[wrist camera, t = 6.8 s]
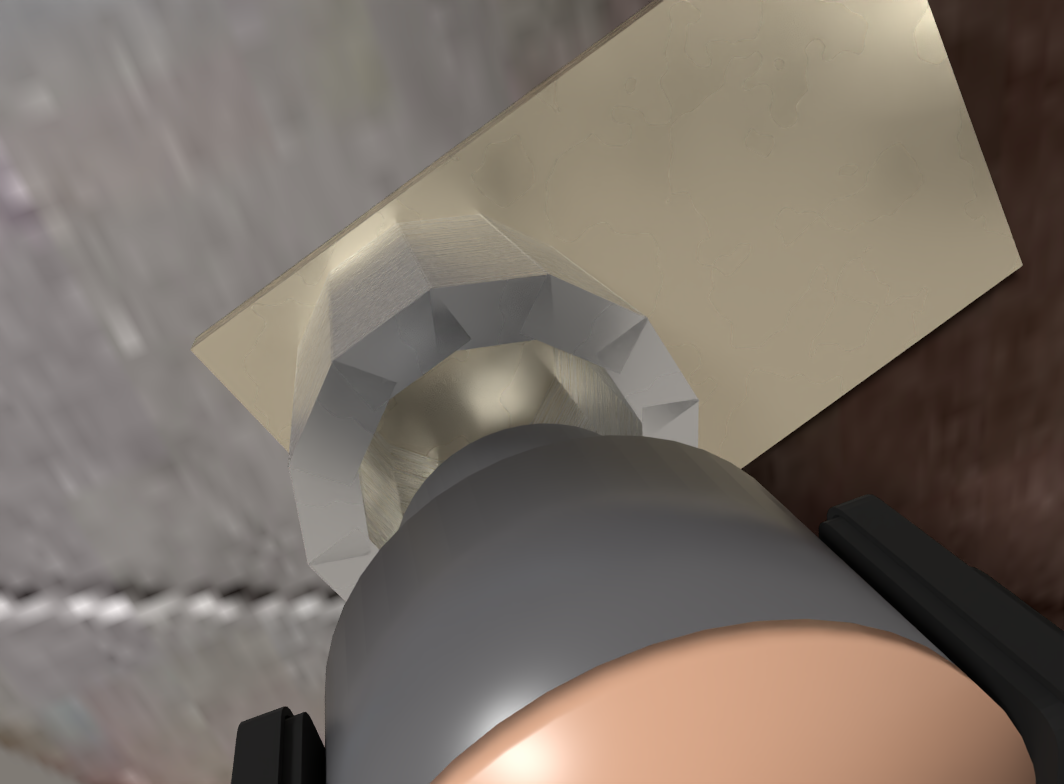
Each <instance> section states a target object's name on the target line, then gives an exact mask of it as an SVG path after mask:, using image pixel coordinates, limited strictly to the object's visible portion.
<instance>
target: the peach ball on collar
mask: <svg viewBox="0 0 1064 784" xmlns="http://www.w3.org/2000/svg"><path fill="white" fill-rule="evenodd" d="M325 783H326V784H1036V777H1035V772H1034V766H1033V763H1032V761H1031V758H1030V756H1029V753H1028V751H1027V748H1026V746H1025V743H1024V741H1023V739H1022V736H1021V735H1020V733H1019V732H1018V731H1017V729H1016V728H1015V726H1014V725H1013V723H1012V722H1011V720H1010V719H1009V717H1008V716H1007V714H1006V713H1005V711H1004V710H1003V709H1002V708H1001V707H1000V706H999V705H998V704H996V703H995V702H994V701H993V700H992V699H991V698H990V697H989V696H988V695H987V694H986V693H985V692H984V691H983V690H982V689H981V688H980V687H979V686H978V685H977V684H976V683H974V682H973V681H972V680H971V679H970V678H969V677H968V676H967V675H966V674H965V673H964V672H963V671H961V670H960V669H959V668H958V667H957V666H956V665H955V664H954V663H953V662H952V661H951V660H950V659H949V658H947V657H946V656H945V655H944V654H943V653H942V652H941V651H940V650H939V649H938V648H937V647H936V646H935V645H933V644H932V643H931V642H930V641H929V640H928V639H927V638H926V637H925V636H924V635H923V634H922V633H920V632H919V631H918V630H917V629H916V628H915V627H914V626H913V625H912V624H911V623H910V622H909V621H908V620H906V619H905V618H904V617H903V616H902V615H901V614H900V613H899V612H898V611H897V610H896V609H895V608H893V607H892V606H891V605H890V604H889V603H888V602H887V601H886V600H885V599H884V598H883V597H882V596H881V595H879V594H878V593H877V592H876V591H875V590H874V589H873V588H872V587H871V586H870V585H869V584H868V583H867V582H865V581H864V580H863V579H862V578H861V577H860V576H859V575H858V574H857V573H856V572H855V571H854V570H852V569H851V568H850V567H849V566H848V565H847V564H846V563H845V562H844V561H843V560H842V559H841V558H840V557H838V556H837V555H836V554H835V553H834V552H833V551H832V550H831V549H830V548H829V547H828V546H827V545H826V544H824V543H823V542H822V541H821V540H820V539H819V538H818V537H817V536H816V535H815V534H814V533H813V532H811V531H810V530H809V529H808V528H807V527H806V526H805V525H804V524H803V523H802V522H801V521H800V520H799V519H797V518H796V517H795V516H794V515H793V514H792V513H791V512H790V511H789V510H788V509H787V508H786V507H784V506H783V505H782V504H781V503H780V502H779V501H778V500H777V499H776V498H775V497H774V496H773V495H772V494H770V493H769V492H768V491H767V490H766V489H765V488H764V487H763V486H762V485H761V484H760V483H759V482H758V481H756V480H755V479H754V478H753V477H751V476H750V475H748V474H747V473H746V472H744V471H743V470H741V469H740V468H738V467H737V466H735V465H734V464H732V463H731V462H729V461H727V460H725V459H722V458H720V457H718V456H716V455H714V454H712V453H710V452H708V451H706V450H703V449H700V448H696V447H693V446H690V445H686V444H683V443H680V442H677V441H672V440H666V439H659V438H653V437H646V436H624V435H605V436H602V435H600V434H598V433H595V432H593V431H590V430H587V429H583V428H580V427H577V426H570V425H564V424H547V423H539V424H529V425H521V426H517V427H512V428H508V429H504V430H501V431H498V432H495V433H492V434H489V435H487V436H484V437H482V438H480V439H478V440H476V441H474V442H472V443H470V444H468V445H467V446H465V447H463V448H462V449H460V450H459V451H457V452H456V453H454V454H453V455H451V456H450V457H449V458H448V459H447V460H445V461H444V462H443V463H442V464H441V465H439V466H438V467H437V468H436V469H435V470H434V471H433V472H432V473H431V475H430V476H429V477H428V478H427V479H426V480H425V481H424V482H423V484H422V485H421V486H420V488H419V489H418V491H417V492H416V493H415V495H414V496H413V498H412V500H411V502H410V503H409V505H408V507H407V509H406V511H405V513H404V516H403V518H402V521H401V524H400V526H399V529H398V530H397V532H396V533H395V534H394V535H393V536H392V537H391V538H390V539H389V540H388V541H387V542H386V543H385V544H384V545H383V546H382V547H381V549H380V550H379V551H378V553H377V554H376V555H375V557H374V558H373V560H372V561H371V562H370V564H369V565H368V566H367V568H366V569H365V570H364V572H363V573H362V575H361V576H360V578H359V579H358V581H357V583H356V585H355V587H354V589H353V590H352V592H351V594H350V596H349V598H348V600H347V601H346V603H345V605H344V607H343V610H342V613H341V615H340V618H339V621H338V623H337V626H336V629H335V631H334V634H333V637H332V642H331V646H330V651H329V656H328V661H327V665H326V682H325Z"/></svg>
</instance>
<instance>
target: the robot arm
mask: <svg viewBox="0 0 1064 784" xmlns="http://www.w3.org/2000/svg"><path fill="white" fill-rule="evenodd" d="M819 539H820V540H821V541H822V542H823V543H824V544H826V545H827V546H828V547H829V548H830V549H831V550H832V551H833V552H834V553H835V554H836V555H837V556H838V557H840V558H841V559H842V560H843V561H844V562H845V563H846V564H847V565H848V566H849V567H850V568H851V569H852V570H854V571H855V572H856V573H857V574H858V575H859V576H860V577H861V578H862V579H863V580H864V581H865V582H867V583H868V584H869V585H870V586H871V587H872V588H873V589H874V590H875V591H876V592H877V593H878V594H879V595H881V596H882V597H883V598H884V599H885V600H886V601H887V602H888V603H889V604H890V605H891V606H892V607H893V608H895V609H896V610H897V611H898V612H899V613H900V614H901V615H902V616H903V617H904V618H905V619H906V620H908V621H909V622H910V623H911V624H912V625H913V626H914V627H915V628H916V629H917V630H918V631H919V632H920V633H922V634H923V635H924V636H925V637H926V638H927V639H928V640H929V641H930V642H931V643H932V644H933V645H935V646H936V647H937V648H938V649H939V650H940V651H941V652H942V653H943V654H944V655H945V656H946V657H947V658H949V659H950V660H951V661H952V662H953V663H954V664H955V665H956V666H957V667H958V668H959V669H960V670H961V671H963V672H964V673H965V674H966V675H967V676H968V677H969V678H970V679H971V680H972V681H973V682H974V683H976V684H977V685H978V686H979V687H980V688H981V689H982V690H983V691H984V692H985V693H986V694H987V695H988V696H989V697H990V698H991V699H992V700H993V701H994V702H995V703H996V704H998V705H999V706H1000V707H1001V708H1002V709H1003V710H1004V711H1005V713H1006V714H1007V716H1008V717H1009V719H1010V720H1011V722H1012V723H1013V725H1014V726H1015V728H1016V729H1017V731H1018V732H1019V733H1020V735H1021V736H1022V739H1023V741H1024V743H1025V746H1026V748H1027V751H1028V753H1029V756H1030V758H1031V761H1032V763H1033V766H1034V772H1035V777H1036V784H1064V631H1063V630H1061V629H1060V628H1059V627H1057V626H1056V625H1055V624H1053V623H1052V622H1050V621H1049V620H1048V619H1046V618H1045V617H1044V616H1042V615H1041V614H1040V613H1038V612H1037V611H1036V610H1034V609H1033V608H1032V607H1030V606H1029V605H1028V604H1026V603H1025V602H1024V601H1022V600H1021V599H1020V598H1018V597H1017V596H1015V595H1014V594H1013V593H1011V592H1010V591H1009V590H1007V589H1006V588H1005V587H1003V586H1002V585H1001V584H999V583H998V582H997V581H995V580H994V579H993V578H991V577H990V576H989V575H987V574H985V573H984V572H982V571H980V570H979V569H977V568H974V567H970V566H968V565H967V564H966V563H964V562H963V561H962V560H960V559H959V558H958V557H956V556H955V555H954V554H952V553H951V552H950V551H948V550H947V549H946V548H944V547H943V546H942V545H940V544H939V543H938V542H936V541H935V540H934V539H932V538H931V537H930V536H928V535H927V534H926V533H924V532H923V531H922V530H920V529H919V528H918V527H916V526H915V525H914V524H912V523H911V522H910V521H908V520H907V519H906V518H904V517H903V516H902V515H900V514H899V513H898V512H896V511H895V510H894V509H892V508H891V507H890V506H888V505H887V504H886V503H884V502H883V501H882V500H880V499H879V498H877V497H875V496H874V495H869V494H867V495H864V496H861V497H859V498H856V499H853V500H850V501H848V502H845V503H842V504H839V505H837V506H834V507H832V508H830V509H829V510H828V513H827V521H825V522H822V523H821V524H820V526H819ZM231 784H326V783H325V747H324V745H323V743H322V741H321V739H320V737H319V735H318V732H317V730H316V728H315V726H314V724H313V722H312V720H311V718H310V716H309V715H308V713H307V712H303V713H300V714H298V715H295V716H294V715H293V713H292V712H291V710H290V709H289V708H288V707H282V708H279V709H276V710H273V711H271V712H268V713H265V714H262V715H260V716H257V717H254V718H251V719H249V720H246V721H243V722H241V723H240V725H239V727H238V731H237V738H236V746H235V755H234V763H233V772H232V780H231Z"/></svg>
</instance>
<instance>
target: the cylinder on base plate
mask: <svg viewBox="0 0 1064 784" xmlns="http://www.w3.org/2000/svg"><path fill="white" fill-rule="evenodd" d="M1021 266H1023V265H1022V262H1021V259H1020V257H1019V254H1018V251H1017V248H1016V246H1015V243H1014V240H1013V237H1012V234H1011V232H1010V229H1009V226H1008V223H1007V221H1006V218H1005V215H1004V212H1003V209H1002V207H1001V204H1000V201H999V198H998V196H997V193H996V190H995V187H994V184H993V182H992V179H991V176H990V173H989V171H988V168H987V165H986V162H985V160H984V157H983V154H982V151H981V148H980V146H979V143H978V140H977V137H976V135H975V132H974V129H973V126H972V123H971V121H970V118H969V115H968V112H967V110H966V107H965V104H964V101H963V98H962V96H961V93H960V90H959V87H958V85H957V82H956V79H955V76H954V73H953V71H952V68H951V65H950V62H949V60H948V57H947V54H946V51H945V48H944V46H943V43H942V40H941V37H940V35H939V32H938V29H937V26H936V24H935V21H934V18H933V15H932V12H931V10H930V7H929V4H928V1H927V0H654V1H652V2H651V3H650V4H648V5H647V6H645V7H644V8H643V9H641V10H640V11H639V12H637V13H636V14H635V15H633V16H632V17H631V18H629V19H628V20H627V21H625V22H624V23H622V24H621V25H620V26H618V27H617V28H616V29H614V30H613V31H612V32H610V33H609V34H608V35H606V36H605V37H603V38H602V39H601V40H599V41H598V42H597V43H595V44H594V45H593V46H591V47H590V48H589V49H587V50H586V51H584V52H583V53H582V54H580V55H579V56H578V57H576V58H575V59H574V60H572V61H571V62H570V63H568V64H567V65H566V66H564V67H563V68H561V69H560V70H559V71H557V72H556V73H555V74H553V75H552V76H551V77H549V78H548V79H547V80H545V81H544V82H542V83H541V84H540V85H538V86H537V87H536V88H534V89H533V90H532V91H530V92H529V93H528V94H526V95H525V96H523V97H522V98H521V99H519V100H518V101H517V102H515V103H514V104H513V105H511V106H510V107H509V108H507V109H506V110H505V111H503V112H502V113H500V114H499V115H498V116H496V117H495V118H494V119H492V120H491V121H490V122H488V123H487V124H486V125H484V126H483V127H481V128H480V129H479V130H477V131H476V132H475V133H473V134H472V135H471V136H469V137H468V138H467V139H465V140H464V141H462V142H461V143H460V144H458V145H457V146H456V147H454V148H453V149H452V150H450V151H449V152H448V153H446V154H445V155H443V156H442V157H441V158H439V159H438V160H437V161H435V162H434V163H433V164H431V165H430V166H429V167H427V168H426V169H425V170H423V171H422V172H420V173H419V174H418V175H416V176H415V177H414V178H412V179H411V180H410V181H408V182H407V183H406V184H404V185H403V186H401V187H400V188H399V189H397V190H396V191H395V192H393V193H392V194H391V195H389V196H388V197H387V198H385V199H384V200H382V201H381V202H380V203H378V204H377V205H376V206H374V207H373V208H372V209H370V210H369V211H368V212H366V213H365V214H364V215H362V216H361V217H359V218H358V219H357V220H355V221H354V222H353V223H351V224H350V225H349V226H347V227H346V228H345V229H343V230H342V231H340V232H339V233H338V234H336V235H335V236H334V237H332V238H331V239H330V240H328V241H327V242H326V243H324V244H323V245H321V246H320V247H319V248H317V249H316V250H315V251H313V252H312V253H311V254H309V255H308V256H307V257H305V258H304V259H303V260H301V261H300V262H298V263H297V264H296V265H294V266H293V267H292V268H290V269H289V270H288V271H286V272H285V273H284V274H282V275H281V276H279V277H278V278H277V279H275V280H274V281H273V282H271V283H270V284H269V285H267V286H266V287H265V288H263V289H262V290H260V291H259V292H258V293H256V294H255V295H254V296H252V297H251V298H250V299H248V300H247V301H246V302H244V303H243V304H242V305H240V306H239V307H237V308H236V309H235V310H233V311H232V312H231V313H229V314H228V315H227V316H225V317H224V318H223V319H221V320H220V321H218V322H217V323H216V324H214V325H213V326H212V327H210V328H209V329H208V330H206V331H205V332H204V333H202V334H201V335H199V336H198V337H197V338H196V339H195V341H194V343H193V345H192V347H191V351H192V352H193V353H194V354H195V355H196V356H197V357H198V358H199V359H200V360H201V361H202V362H203V363H204V365H205V366H206V367H207V368H208V369H209V370H210V371H211V372H212V373H213V374H214V375H215V376H216V377H217V378H218V379H219V380H220V381H221V382H222V383H223V384H224V385H225V386H226V387H227V389H228V390H229V391H230V392H231V393H232V394H233V395H234V396H235V397H236V398H237V399H238V400H239V401H240V402H241V403H242V404H243V405H244V406H245V407H246V408H247V409H248V410H249V412H250V413H251V414H252V415H253V416H254V417H255V418H256V419H257V420H258V421H259V422H260V423H261V424H262V425H263V426H264V427H265V428H266V429H267V430H268V431H269V432H270V433H271V434H272V436H273V437H274V438H275V439H276V440H277V441H278V442H279V443H280V444H281V445H282V446H283V447H284V448H285V449H286V450H287V451H288V452H289V459H288V467H289V471H290V476H291V481H292V486H293V491H294V496H295V501H296V506H297V511H298V516H299V521H300V526H301V531H302V536H303V541H304V546H305V551H306V557H307V564H308V566H310V567H311V568H312V569H313V570H314V571H315V572H316V573H317V574H318V575H319V576H320V577H321V578H322V579H323V580H324V581H325V582H326V583H327V584H328V585H329V586H330V587H331V588H332V589H333V590H334V591H335V592H336V593H337V594H338V595H339V596H341V597H342V598H343V599H344V600H345V601H347V600H348V598H349V596H350V594H351V592H352V590H353V589H354V587H355V585H356V583H357V581H358V579H359V578H360V576H361V575H362V573H363V572H364V570H365V569H366V568H367V566H368V565H369V564H370V562H371V561H372V560H373V558H374V557H375V555H376V554H377V553H378V551H379V550H380V549H381V547H382V546H383V545H384V544H385V543H386V542H387V541H388V540H389V539H390V538H391V537H392V536H393V535H394V534H395V533H396V532H397V530H398V529H399V526H400V524H401V521H402V518H403V516H404V513H405V511H406V509H407V507H408V505H409V503H410V502H411V500H412V498H413V496H414V495H415V493H416V492H417V491H418V489H419V488H420V486H421V485H422V484H423V482H424V481H425V480H426V479H427V478H428V477H429V476H430V475H431V473H432V472H433V471H434V470H435V469H436V468H437V467H438V466H439V465H441V464H442V463H443V462H444V461H445V460H447V459H448V458H449V457H450V456H451V455H453V454H454V453H456V452H457V451H459V450H460V449H462V448H463V447H465V446H467V445H468V444H470V443H472V442H474V441H476V440H478V439H480V438H482V437H484V436H487V435H489V434H492V433H495V432H498V431H501V430H504V429H508V428H512V427H517V426H521V425H529V424H539V423H547V424H564V425H570V426H577V427H580V428H583V429H587V430H590V431H593V432H595V433H598V434H600V435H602V436H605V435H624V436H646V437H653V438H659V439H666V440H672V441H677V442H680V443H683V444H686V445H690V446H693V447H696V448H700V449H703V450H706V451H708V452H710V453H712V454H714V455H716V456H718V457H720V458H722V459H725V460H727V461H729V462H731V463H732V464H734V465H735V466H737V467H738V468H740V469H742V468H743V467H744V466H746V465H747V464H748V463H750V462H751V461H753V460H754V459H755V458H757V457H758V456H760V455H761V454H762V453H764V452H765V451H766V450H768V449H769V448H771V447H772V446H773V445H775V444H776V443H778V442H779V441H780V440H782V439H783V438H784V437H786V436H787V435H789V434H790V433H791V432H793V431H794V430H796V429H797V428H798V427H800V426H801V425H802V424H804V423H805V422H807V421H808V420H809V419H811V418H812V417H814V416H815V415H816V414H818V413H819V412H820V411H822V410H823V409H825V408H826V407H827V406H829V405H830V404H832V403H833V402H834V401H836V400H837V399H838V398H840V397H841V396H843V395H844V394H845V393H847V392H848V391H850V390H851V389H852V388H854V387H855V386H856V385H858V384H859V383H861V382H862V381H863V380H865V379H866V378H868V377H869V376H870V375H872V374H873V373H874V372H876V371H877V370H879V369H880V368H881V367H883V366H884V365H886V364H887V363H888V362H890V361H891V360H892V359H894V358H895V357H897V356H898V355H899V354H901V353H902V352H904V351H905V350H906V349H908V348H909V347H910V346H912V345H913V344H915V343H916V342H917V341H919V340H920V339H922V338H923V337H924V336H926V335H927V334H928V333H930V332H931V331H933V330H934V329H935V328H937V327H938V326H940V325H941V324H942V323H944V322H945V321H946V320H948V319H949V318H951V317H952V316H953V315H955V314H956V313H958V312H959V311H960V310H962V309H963V308H964V307H966V306H967V305H969V304H970V303H971V302H973V301H974V300H976V299H977V298H978V297H980V296H981V295H982V294H984V293H985V292H987V291H988V290H989V289H991V288H992V287H994V286H995V285H996V284H998V283H999V282H1000V281H1002V280H1003V279H1005V278H1006V277H1007V276H1009V275H1010V274H1012V273H1013V272H1014V271H1016V270H1017V269H1018V268H1020V267H1021Z"/></svg>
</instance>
